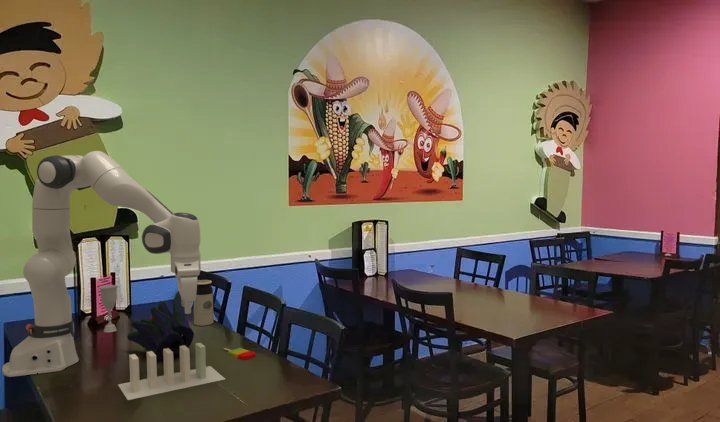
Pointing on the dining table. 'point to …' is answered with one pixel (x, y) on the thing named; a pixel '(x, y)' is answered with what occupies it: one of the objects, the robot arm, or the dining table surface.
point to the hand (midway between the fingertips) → (186, 309)
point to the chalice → (109, 303)
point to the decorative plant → (163, 329)
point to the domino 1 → (134, 373)
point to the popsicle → (241, 353)
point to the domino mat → (164, 387)
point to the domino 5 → (200, 360)
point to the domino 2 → (151, 370)
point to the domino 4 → (185, 363)
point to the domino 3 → (168, 366)
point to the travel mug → (203, 303)
